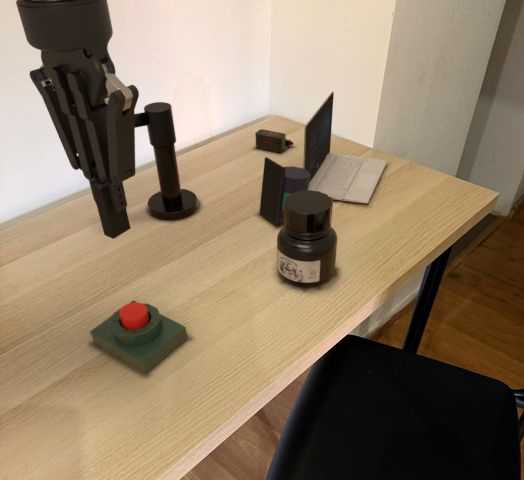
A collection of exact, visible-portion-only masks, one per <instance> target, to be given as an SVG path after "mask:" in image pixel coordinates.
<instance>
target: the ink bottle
mask: <svg viewBox="0 0 524 480" xmlns="http://www.w3.org/2000/svg"><path fill="white" fill-rule="evenodd" d="M333 207H334V202H333V199H332V198H330V197H329V196H328V195H327V194H324V193H322V192H319V191H312V190H306V191H298V192H295V193H292V194H291V195H289V196H287V198H286V199H285V201H284V220H285V221H284V222H283V224H284V225H283V226H282V227H281V228H280V229H279V231H278V233H277V237H276V269H277V274H278V276H279V277H280V278H281V280H283V281H284V282H286V283H288V284H290V285H292V286H296V287H299V288H313V287H318V286H321V285H323V284H325V283H327V282H328V281H330V280H331V279H332V278H333V276H334V274H335V271H336V261H337V251H338V235H337V231H336V230H335V229H334V228H333V227H332V220H333V209H334V208H333Z"/></svg>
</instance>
